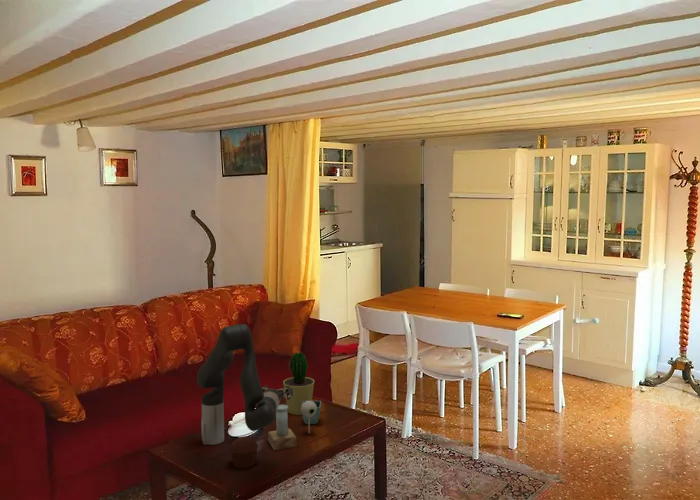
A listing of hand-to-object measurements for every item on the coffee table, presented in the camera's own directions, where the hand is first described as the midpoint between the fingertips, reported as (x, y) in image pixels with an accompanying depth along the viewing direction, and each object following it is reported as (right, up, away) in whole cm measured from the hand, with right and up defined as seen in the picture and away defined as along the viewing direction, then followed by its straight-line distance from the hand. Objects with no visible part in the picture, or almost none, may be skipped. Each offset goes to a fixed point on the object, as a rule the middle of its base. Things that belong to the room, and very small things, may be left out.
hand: (277, 387), depth 239 cm
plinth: (+1, -27, +12) cm, 30 cm away
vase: (+1, -23, +12) cm, 26 cm away
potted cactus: (+4, -24, +51) cm, 57 cm away
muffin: (-13, -29, -6) cm, 32 cm away
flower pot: (+12, -25, +36) cm, 45 cm away
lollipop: (+11, -26, +23) cm, 37 cm away
